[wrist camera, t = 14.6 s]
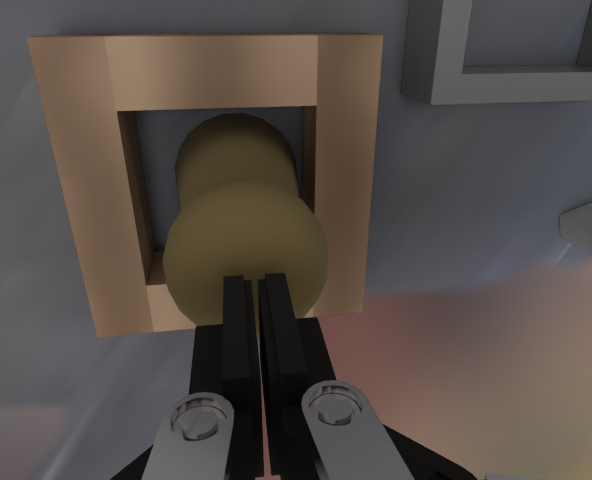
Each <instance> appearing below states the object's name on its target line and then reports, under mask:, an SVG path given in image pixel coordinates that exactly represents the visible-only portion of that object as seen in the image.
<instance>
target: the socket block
mask: <svg viewBox="0 0 592 480" xmlns="http://www.w3.org/2000/svg"><path fill="white" fill-rule="evenodd" d="M26 38H27V43H28V47H29V51H30V55H31V60H32V64H33V68H34V72H35V76H36V81H37V85H38V89H39V93H40V98H41V102H42V106H43V110H44V114H45V119H46V123H47V127H48V131H49V136H50V140H51V144H52V148H53V152H54V157H55V161H56V165H57V169H58V174H59V178H60V182H61V186H62V190H63V195H64V199H65V203H66V207H67V212H68V216H69V220H70V224H71V228H72V233H73V237H74V241H75V245H76V250H77V254H78V258H79V262H80V266H81V271H82V275H83V279H84V283H85V288H86V292H87V296H88V300H89V304H90V309H91V313H92V317H93V321H94V326H95V330H96V334H97V337H106V336H117V335H128V334H138V333H149V332H160V331H171V330H182V329H192V328H196V325H195V324H194V323H193V322H192V321H191V320H190V319H188V318H187V317H186V316H185V315H184V314H183V313H182V312H181V311H180V310H179V309H178V307H177V305H176V303H175V302H174V300H173V298H172V296H171V294H170V293H169V291H168V288H167V284H166V280H165V273H164V266H163V255H164V251H155V245H154V238H153V232H152V225H151V219H150V212H149V206H148V199H147V193H146V186H145V179H144V173H143V166H142V160H141V153H140V147H139V140H138V133H137V127H136V120H135V114H134V111H135V110H172V109H209V108H246V107H283V106H302V200H303V201H304V202H305V204H306V205H307V206H308V207H309V209H310V210H311V211H312V213H313V214H314V215H315V216H316V218H317V219H318V221H319V223H320V224H321V227H322V230H323V233H324V236H325V239H326V242H327V245H328V272H327V280H326V282H325V285H324V288H323V290H322V293H321V295H320V298H319V299H318V300H317V302H316V303H315V304H314V305H313V307H312V308H311V309H310V310H309V312H308V313H307V314H306V315H305V316H304V318H308V317H322V316H333V315H344V314H355V313H362V312H363V301H364V288H365V275H366V261H367V248H368V235H369V221H370V208H371V195H372V181H373V168H374V155H375V141H376V128H377V115H378V101H379V88H380V75H381V61H382V48H383V35H377V34H363V33H289V34H79V35H46V36H32V37H26Z"/></svg>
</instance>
